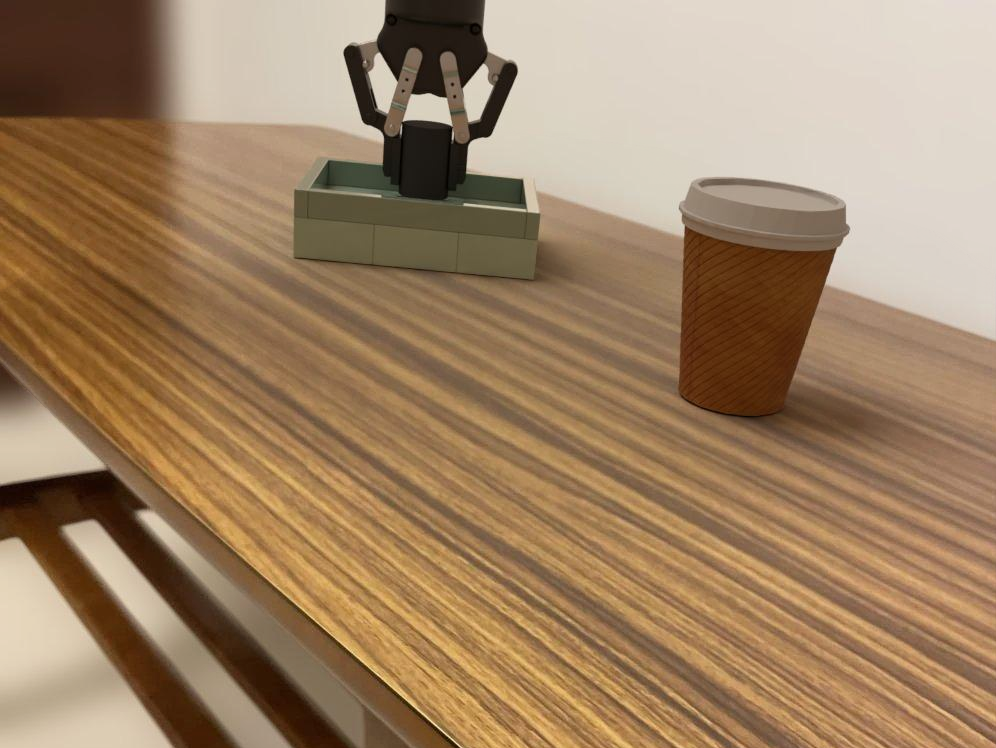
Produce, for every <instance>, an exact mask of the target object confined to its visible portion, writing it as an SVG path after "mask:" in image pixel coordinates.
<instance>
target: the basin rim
mask: <svg viewBox="0 0 996 748" xmlns="http://www.w3.org/2000/svg"><path fill="white" fill-rule="evenodd" d="M382 168H383V162H376V161H369V160H368V161H366V160H357V159H349V158H348V159H346V158H337V157H328V156H327V157H326V156H317V157H316V158H315V160H314V161H313V163H312V164H311V165H310V167H309V169H308V170H307V171H306V173H305V174H304V176H303V177H302V178H301V180H300V181H299V182H298V184H297V185H296V187H295V188H294V189H293V218H294V217H302V218H307V217H308V218H314V219H324V220H334V221H345V222H355V223H365V224H376V225H386V226H396V227H407V228H417V229H427V230H438V231H448V232H458V233H469V234H479V235H489V236H500V237H510V238H520V239H524V238H525V239H531V240H539V234H540V233H539V232H540V222H541V209H540V204H539V199H538V193H537V187H536V182H535V178H533V177H524V176H516V175H507V174H497V173H495V174H494V173H487V172H486V173H485V172H475V171H467V170H466V179H465V181H464V183H463V185H462V184H457V187H456V191H448V196H451V197H461V198H471V199H481V200H491V201H502V202H512V203H520V204H521V209H517V208H507V207H497V206H486V205H476V204H466V203H456V202H446V201H436V200H426V199H416V198H405V197H395V196H385V195H375V194H365V193H355V192H345V191H335V190H324V189H325V188H326V186H327V184H330V185H340V186H350V187H360V188H370V189H381V190H391V191H399V186H398V185H390V179H391V177H385V176H384V173H383V170H382Z"/></svg>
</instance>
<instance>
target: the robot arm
mask: <svg viewBox="0 0 996 748" xmlns="http://www.w3.org/2000/svg"><path fill="white" fill-rule="evenodd" d="M485 8H486V0H385V2H384V20H383V23H382V24H383V25H382V27H381V29H380V31H379V32H378V34H377V37H376V38H375V39H372V40H369V41H368V40H367V41H364V42H360V43H358V42H355V41H354V42H350V43H349V44H348V45H346V46H345V47H344V49H343V52H342V54H343V58H344V62H345V66H346V69H347V72H348V73H347V74H348V76H349V79H350V84H351V87H352V90H353V94H354V96H355V98H354V99H355V102H356V104H357V108H358V111H359V115H360V118H361V121H362V123H363V125H366V126H370V127H372V128H374V129H377V130H378V131H380V133H381V134H382V137H383V146H382V147H383V149H382V150H383V151H382V163H383V168H382V170H383V173H384V176H385V177H391V179H390V185H398V186H399V180H400V161H401V143H402V137H401V134H402V122H403V121H404V119H405V116H406V113H407V108H408V106H409V103H410V100H411V98H412V95H414V96H422V95H427V94H430V95H433V96H435V97H437V98H443V99H446V100H447V105H448V111H449V115H450V120H451V126H452V127H453V132H452V133H453V137H452V142H451V147H450V162H449V176H448V191H456V187H457V184H462V185H463V183H464V181H465V179H466V171H467V168H468V153H469V146H470V144H471V143H472V142H473V141H475V140H478V139H483V138H484V139H486V138H487V139H488V138H490V137H491V136H492V135H493V133H494V131H495V128H496V126H497V124H498V121H499V119H500V116H501V114H502V112H503V110H504V107H505V104H506V102H507V100H508V97H509V95H510V93H511V91H512V88H513V86H514V83H515V81H516V79H517V77H518V73H519V66H518V65H517V63H516V62H515V61H514V60H512V59H506V58H504V57H501V56H499V55H498V54H495V53H493V52H491V51H489V48H488V44H487V42H486V39H485V37H484V36H485V35H484V25H485V24H484V21H485V11H486V9H485ZM377 54H380V55H381V57H382V58H383V61H384V62H385V64H386V65H387V68H388V69H389V71H390V73H391V74H392V75H393V77H394V79H395V80H396V82H397V83H396V87H395V89H394V93H393V96H392V99H391V103H390V107H389V109H388V113H387V112H385V111H383V110H381V109H379V106H378V103H377V99H376V96H375V92H374V88H373V84H372V81H371V77H370V74H369V72H371V71H372V70H373V69H374V68H375V65H376V60H375V58H376V56H377ZM483 65H485V67H486V68H487V70H488V72H487V81H488V83H489V84H490V85H492V88H491V90H490V94H489V96H488V98H487V101H486V103H485V105H484V108H483V110H482V112H481V114H480V117H479V118H478V119H475V120H471V121H469V116H468V112H467V104H466V99H465V91H464V88H465V87H466V85H467V84H468V83H469V82H470V81H471V79H472V78H473V77H474V76H475V74H477V72H478V71H479V70H480V68H482V66H483Z"/></svg>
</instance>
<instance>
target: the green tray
mask: <svg viewBox="0 0 996 748" xmlns="http://www.w3.org/2000/svg"><path fill="white" fill-rule="evenodd" d="M324 190H335V191H345V192H355V193H365V194H375V195H385V196H395V197H404V196H402V195H400V194H399V193H398V191H391V190H381V189H370V188H360V187H350V186H340V185H330V184H327V186H326V188H325V189H324ZM405 198H408V197H405ZM436 201H446V202H456V203H466V204H476V205H486V206H497V207H507V208H517V209H521V204H520V203H512V202H502V201H491V200H481V199H471V198H461V197H451V196H448V198H447V199H444V200H436ZM538 240H539V239H538ZM538 240H531V239H525V238H524V239H520V238H510V237H500V236H489V235H479V234H469V233H458V232H448V231H438V230H427V229H417V228H407V227H396V226H386V225H376V224H365V223H355V222H345V221H334V220H324V219H314V218H308V217H307V218H302V217H294V216H293V240H292V241H293V243H292V244H293V247H292V249H293V251H292V256H293V258H295V259H296V258H298V259H308V260H319V261H329V262H339V263H351V264H361V265H370V266H371V265H372V266H384V267H392V268H403V269H404V268H405V269H413V270H426V271H435V272H445V273H446V272H447V273H456V274H467V275H476V276H477V275H478V276H486V277H487V276H488V277H498V278H507V279H509V278H510V279H520V280H530V281H534V280H535V274H536V273H535V271H536V264H537V263H536V261H537V251H538V243H539V241H538Z"/></svg>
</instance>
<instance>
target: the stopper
mask: <svg viewBox="0 0 996 748" xmlns="http://www.w3.org/2000/svg"><path fill="white" fill-rule="evenodd" d="M453 133H454V132H453V126H452V124H448V123H444V122H439V121H435V120H434V121H432V120H423V119H407V120H403V122H402V125H401V137H402V143H401V161H400V180H399V191H398V193H399V194H400V195H402V196H404V197H408V198H416V199H426V200H444V199H447V198H448V176H449V162H450V147H451V142H452V140H453Z"/></svg>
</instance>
